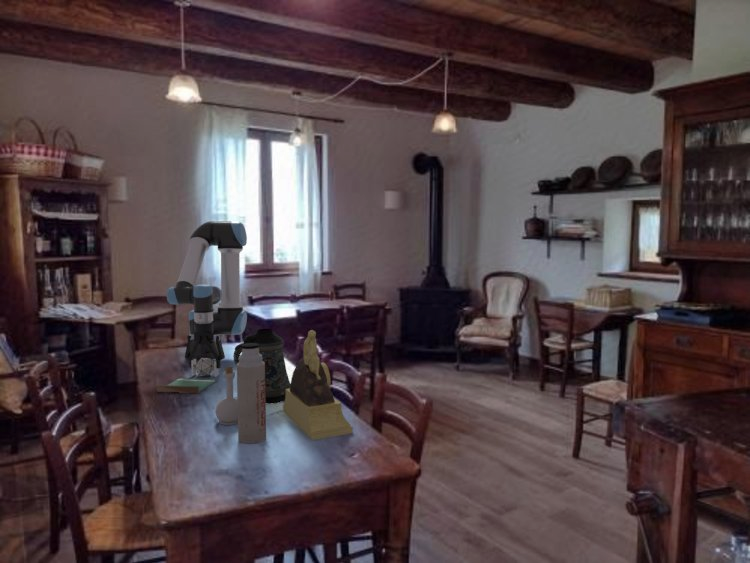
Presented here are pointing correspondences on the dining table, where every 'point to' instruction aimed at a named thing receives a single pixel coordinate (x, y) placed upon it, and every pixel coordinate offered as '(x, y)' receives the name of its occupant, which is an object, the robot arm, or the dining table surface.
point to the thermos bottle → (251, 395)
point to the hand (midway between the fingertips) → (205, 375)
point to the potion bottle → (228, 401)
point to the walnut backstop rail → (178, 389)
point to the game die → (204, 366)
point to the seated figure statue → (314, 397)
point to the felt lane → (194, 382)
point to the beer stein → (269, 363)
